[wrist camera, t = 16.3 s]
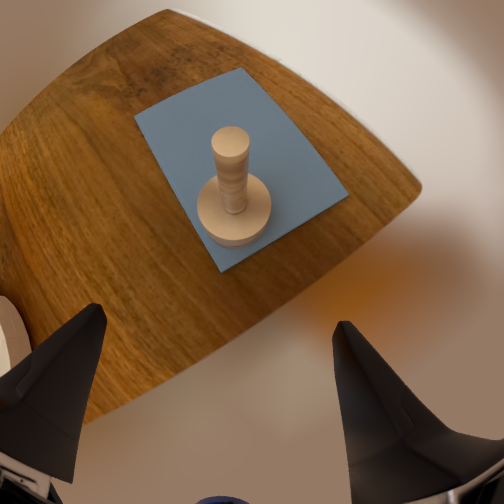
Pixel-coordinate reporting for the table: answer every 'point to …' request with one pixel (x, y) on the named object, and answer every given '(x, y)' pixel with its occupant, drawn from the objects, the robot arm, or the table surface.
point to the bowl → (11, 337)
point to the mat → (260, 155)
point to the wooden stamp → (233, 194)
